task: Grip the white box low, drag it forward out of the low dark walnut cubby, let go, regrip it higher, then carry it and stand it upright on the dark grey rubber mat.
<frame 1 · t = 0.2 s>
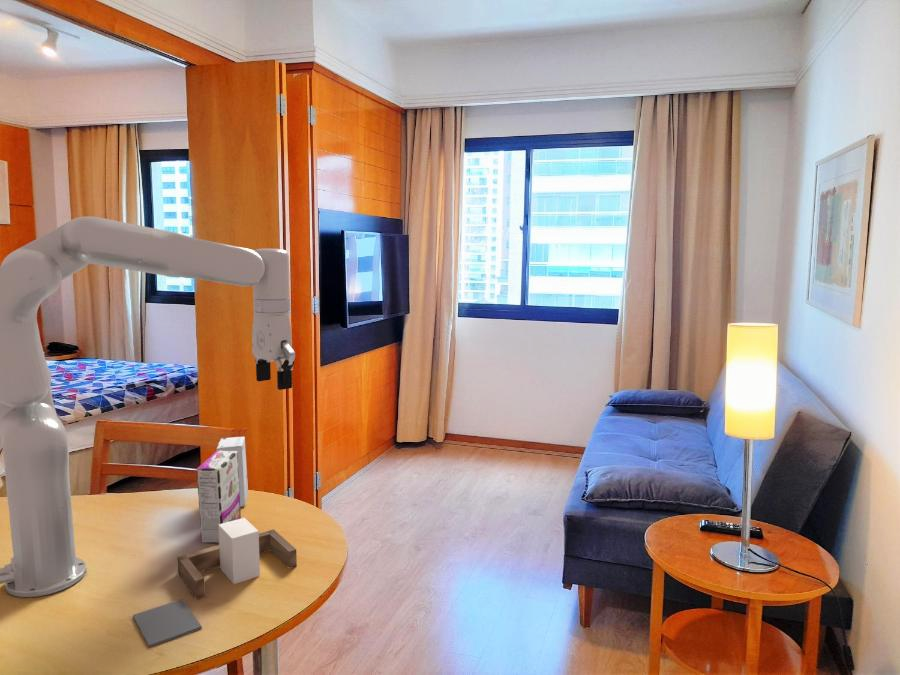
hand: (274, 384, 140), 31 cm above the table, tool pointing down, fingers open, 9 cm apart
skincare box: (233, 501, 154), on the table
white box: (239, 572, 122), on the table
candy bar box: (221, 532, 138), on the table
walnut cubby: (239, 571, 122), on the table
rubber mat: (167, 622, 106), on the table
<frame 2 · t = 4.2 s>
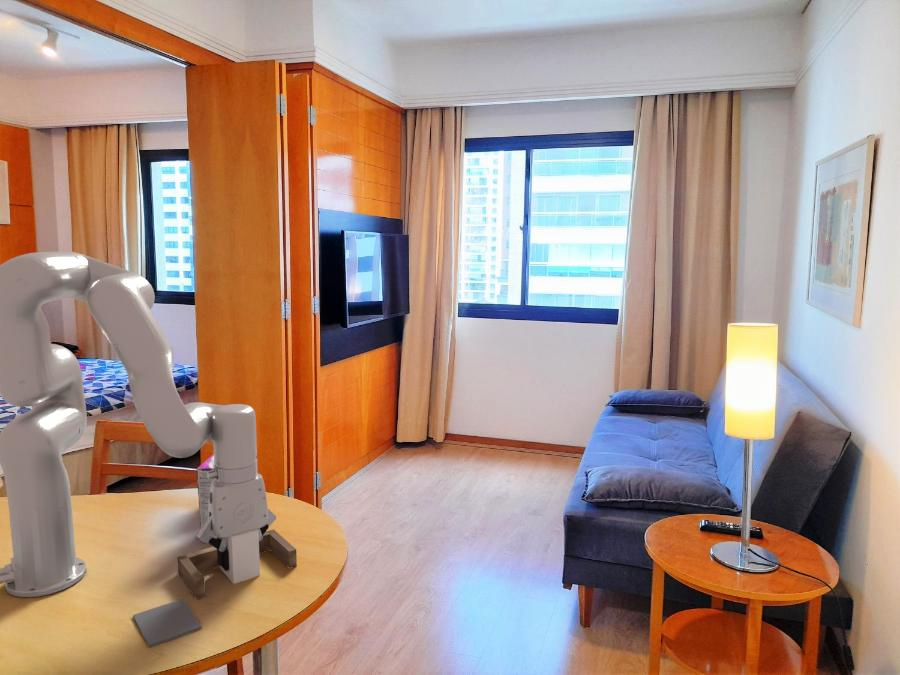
hand: (239, 562, 122), 2 cm above the table, tool pointing down, fingers closed on white box, 5 cm apart
white box: (239, 571, 122), on the table, touching gripper
everything else where it was.
when the fingers open (2 cm above the table, at t = 7.7 s): white box stays where it is, on the table.
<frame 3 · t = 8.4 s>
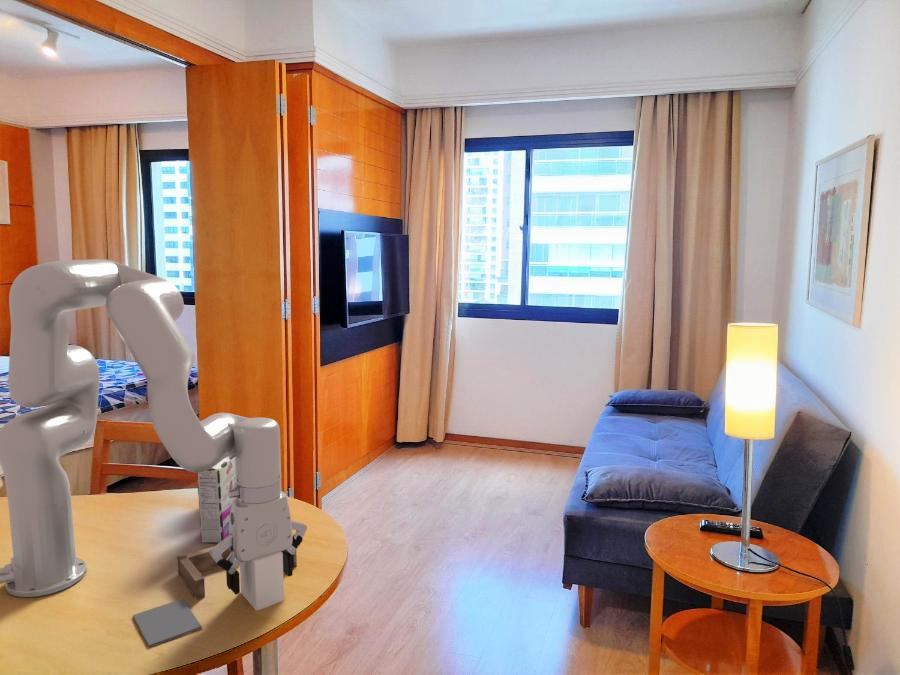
hand: (261, 581, 114), 3 cm above the table, tool pointing down, fingers open, 9 cm apart
white box: (262, 596, 114), on the table
everything else where it was.
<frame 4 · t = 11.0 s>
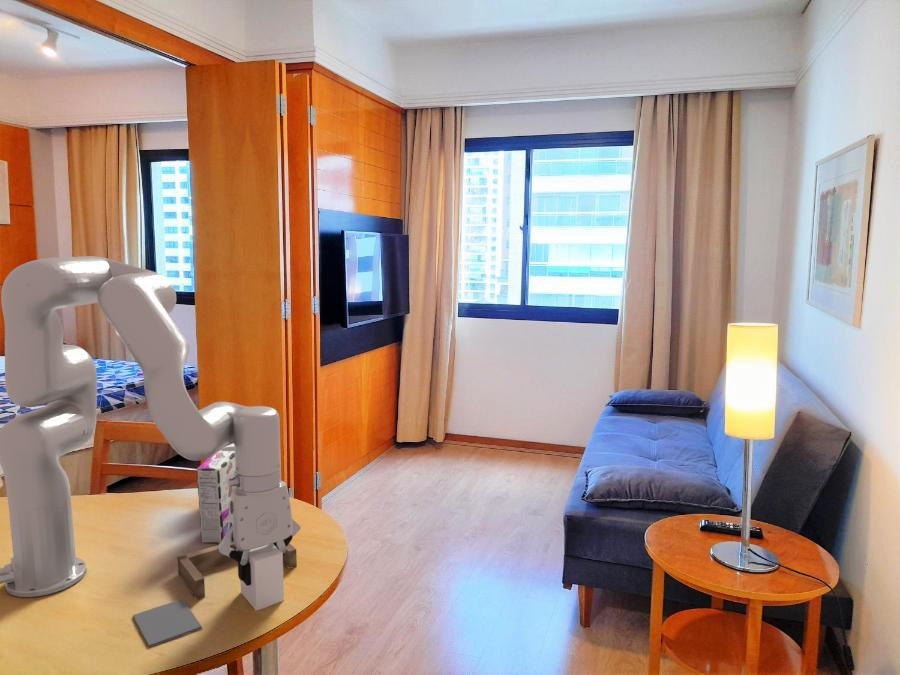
hand: (261, 575, 113), 4 cm above the table, tool pointing down, fingers closed on white box, 5 cm apart
white box: (262, 596, 114), on the table, touching gripper
everything else where it was.
when the fingers open (5 cm above the table, at t = 17.7 s): white box stays where it is, resting on rubber mat.
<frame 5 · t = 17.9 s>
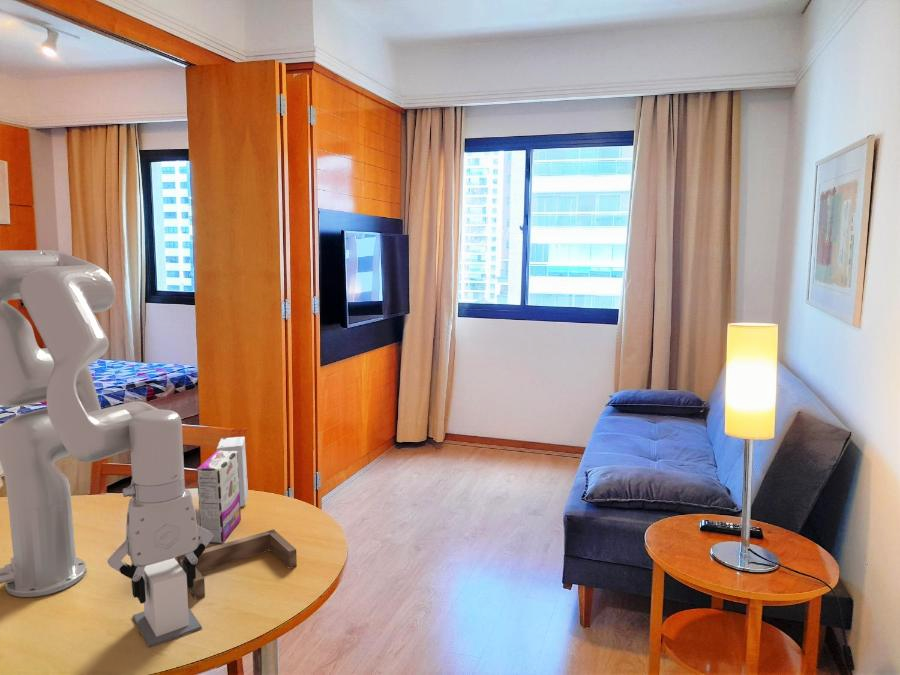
hand: (165, 590, 105), 6 cm above the table, tool pointing down, fingers open, 6 cm apart
white box: (166, 620, 106), resting on rubber mat
everything else where it was.
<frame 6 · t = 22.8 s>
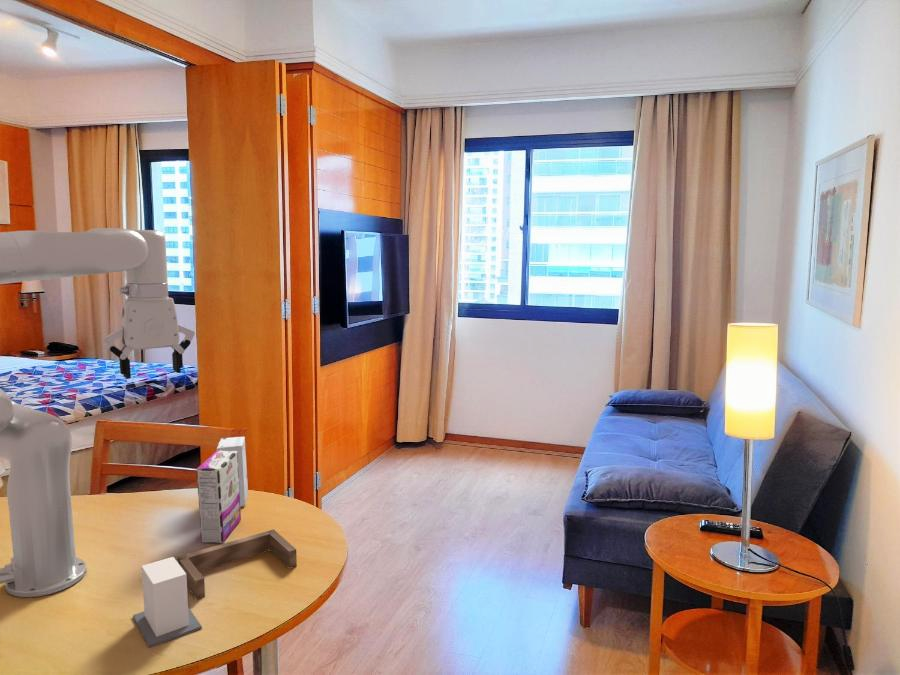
hand: (152, 374, 133), 34 cm above the table, tool pointing down, fingers open, 9 cm apart
nothing on the table moved.
at the end: white box 0.0 cm off-centre on the rubber mat, point 0.4 cm above the rubber mat's base; white box tilted 0°; the gripper is holding nothing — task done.
